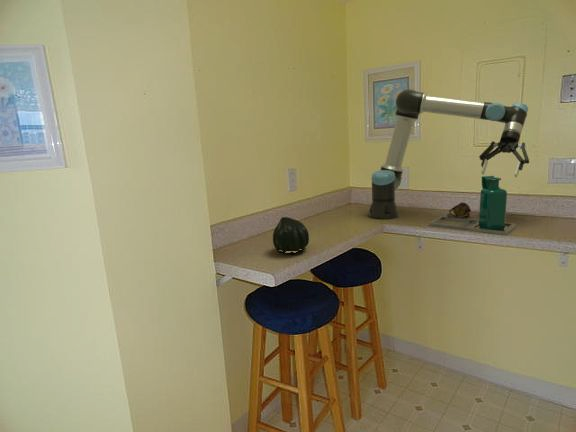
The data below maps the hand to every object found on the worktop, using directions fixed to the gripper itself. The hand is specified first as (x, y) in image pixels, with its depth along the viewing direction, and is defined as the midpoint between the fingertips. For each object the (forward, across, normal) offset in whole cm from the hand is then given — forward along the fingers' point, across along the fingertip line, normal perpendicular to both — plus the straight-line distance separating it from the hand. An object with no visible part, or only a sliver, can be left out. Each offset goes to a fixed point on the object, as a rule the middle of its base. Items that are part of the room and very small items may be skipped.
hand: (498, 174), depth 174 cm
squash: (+70, +52, +50) cm, 101 cm away
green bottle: (+24, -2, -4) cm, 25 cm away
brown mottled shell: (+17, +17, -16) cm, 29 cm away
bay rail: (+25, +6, -4) cm, 26 cm away
